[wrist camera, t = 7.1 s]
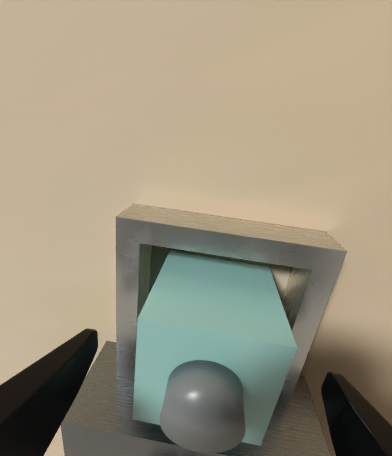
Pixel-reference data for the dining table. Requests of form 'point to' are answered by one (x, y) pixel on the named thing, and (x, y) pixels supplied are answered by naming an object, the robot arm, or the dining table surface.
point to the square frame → (135, 299)
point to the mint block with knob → (211, 352)
